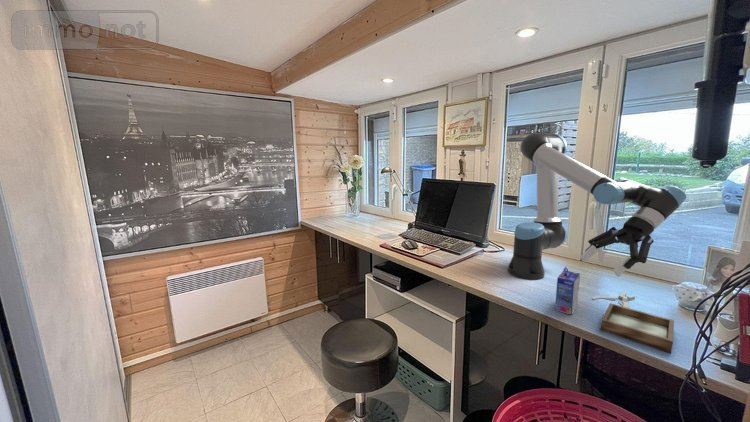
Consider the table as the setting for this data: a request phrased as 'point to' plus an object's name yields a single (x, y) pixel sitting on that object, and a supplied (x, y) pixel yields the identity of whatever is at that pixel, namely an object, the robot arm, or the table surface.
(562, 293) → the ink cartridge box
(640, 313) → the wooden tray
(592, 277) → the table surface
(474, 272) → the table surface
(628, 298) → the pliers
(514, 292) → the table surface
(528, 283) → the table surface
